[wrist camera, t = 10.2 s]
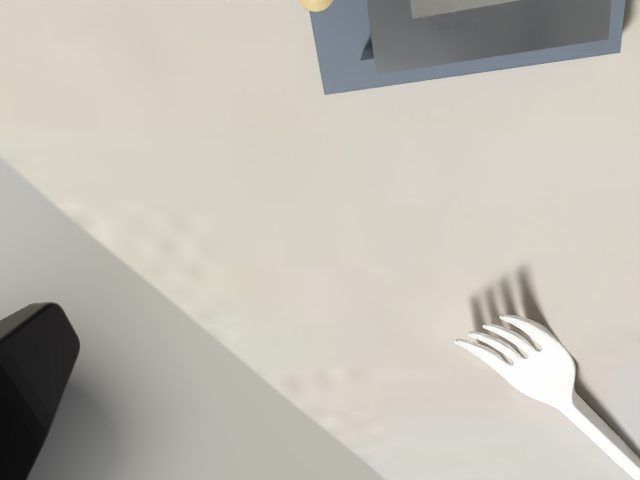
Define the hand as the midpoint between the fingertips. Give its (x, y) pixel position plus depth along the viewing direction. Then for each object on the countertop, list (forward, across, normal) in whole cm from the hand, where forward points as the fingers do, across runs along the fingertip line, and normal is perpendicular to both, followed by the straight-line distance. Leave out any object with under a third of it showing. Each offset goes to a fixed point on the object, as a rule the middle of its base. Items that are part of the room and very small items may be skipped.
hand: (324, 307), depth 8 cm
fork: (+13, -9, +18) cm, 24 cm away
